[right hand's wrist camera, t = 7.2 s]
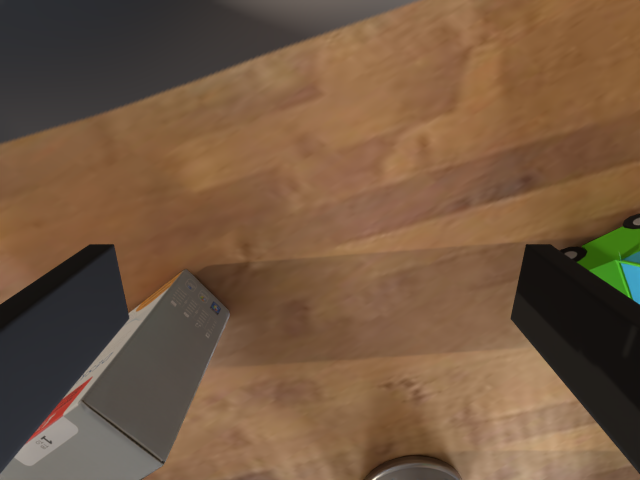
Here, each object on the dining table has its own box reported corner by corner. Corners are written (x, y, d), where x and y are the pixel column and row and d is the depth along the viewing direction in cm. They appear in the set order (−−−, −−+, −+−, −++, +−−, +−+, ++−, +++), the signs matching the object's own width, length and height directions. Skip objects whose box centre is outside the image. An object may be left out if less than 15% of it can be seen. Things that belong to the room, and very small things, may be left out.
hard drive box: (186, 265, 43) (83, 398, 24) (232, 311, 45) (172, 467, 27) (94, 337, 46) (-56, 502, 28) (142, 377, 49) (32, 555, 30)
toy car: (528, 255, 42) (586, 301, 33) (651, 195, 40) (751, 227, 31) (557, 323, 46) (618, 383, 36) (672, 271, 43) (769, 321, 34)
